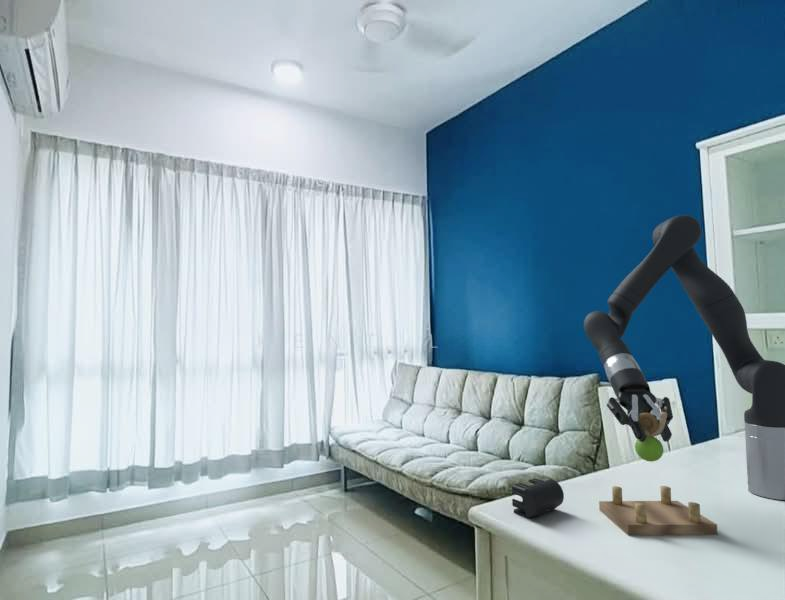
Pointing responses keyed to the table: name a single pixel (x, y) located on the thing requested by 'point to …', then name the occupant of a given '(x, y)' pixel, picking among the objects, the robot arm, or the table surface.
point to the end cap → (537, 497)
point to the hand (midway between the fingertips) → (655, 439)
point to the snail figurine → (651, 436)
